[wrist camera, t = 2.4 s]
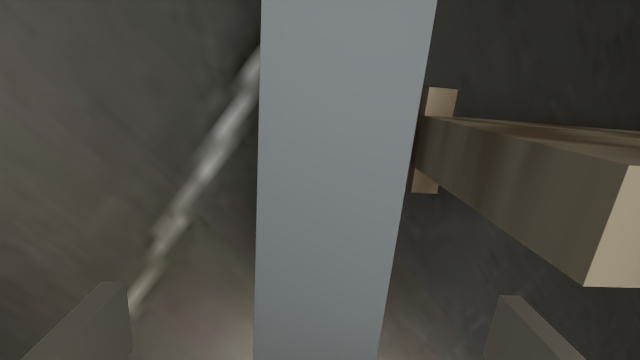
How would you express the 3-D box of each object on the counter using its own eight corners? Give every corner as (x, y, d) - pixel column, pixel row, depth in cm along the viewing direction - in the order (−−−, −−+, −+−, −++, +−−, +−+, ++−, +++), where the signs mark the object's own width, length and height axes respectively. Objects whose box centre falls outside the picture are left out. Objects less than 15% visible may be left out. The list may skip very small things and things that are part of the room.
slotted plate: (322, 258, 20) (355, 482, 9) (276, 257, 20) (250, 485, 9) (353, -64, 15) (524, -513, 4) (291, -72, 15) (275, -584, 3)
